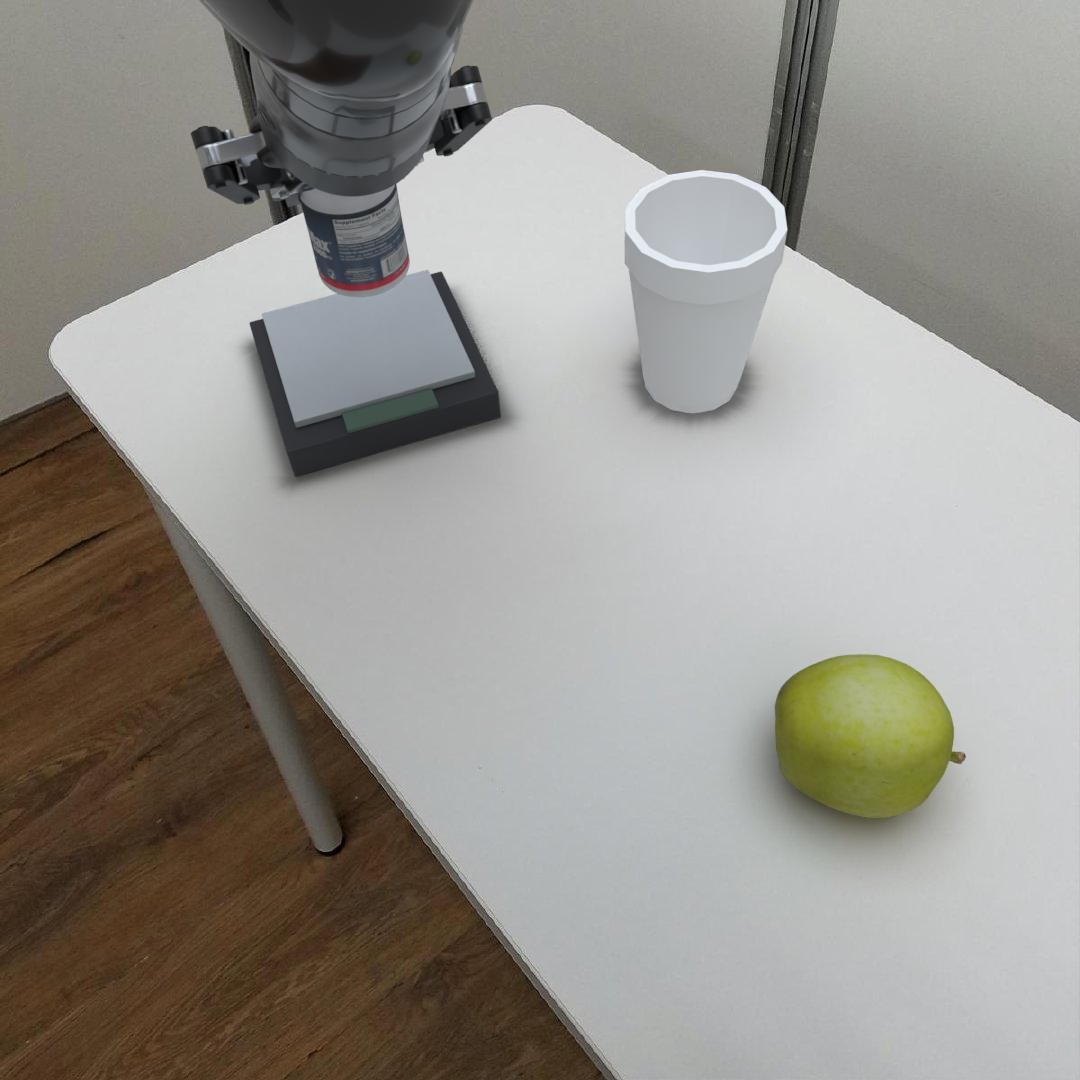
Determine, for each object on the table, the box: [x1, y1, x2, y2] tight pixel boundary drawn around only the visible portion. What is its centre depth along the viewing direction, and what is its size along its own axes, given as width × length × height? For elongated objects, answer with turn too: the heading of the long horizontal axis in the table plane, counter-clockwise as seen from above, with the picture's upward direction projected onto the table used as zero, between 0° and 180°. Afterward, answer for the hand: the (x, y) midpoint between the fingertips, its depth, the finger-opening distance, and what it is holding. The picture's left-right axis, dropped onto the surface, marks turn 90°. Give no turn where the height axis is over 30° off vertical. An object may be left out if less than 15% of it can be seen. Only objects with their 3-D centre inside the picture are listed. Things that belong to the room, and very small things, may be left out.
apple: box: [774, 653, 967, 819], centre depth 54 cm, size 8×9×8 cm
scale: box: [249, 269, 502, 477], centre depth 74 cm, size 14×13×3 cm
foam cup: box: [624, 169, 788, 414], centre depth 69 cm, size 10×9×13 cm
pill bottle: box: [300, 184, 411, 297], centre depth 59 cm, size 5×5×9 cm
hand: (340, 174), depth 60 cm, fingers closed on pill bottle, 5 cm apart
